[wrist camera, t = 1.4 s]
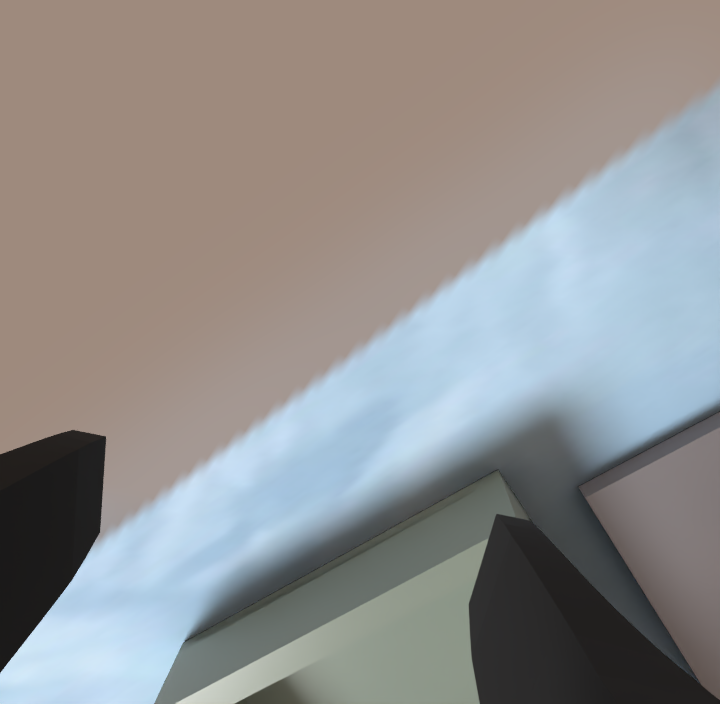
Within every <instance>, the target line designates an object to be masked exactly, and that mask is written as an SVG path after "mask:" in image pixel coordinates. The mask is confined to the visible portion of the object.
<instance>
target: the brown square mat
mask: <svg viewBox="0 0 720 704" xmlns="http://www.w3.org/2000/svg"><path fill="white" fill-rule="evenodd" d="M578 487H579V489H580V491H581V492H582V494H583V495H584V497H585V499H586V500H587V502H588V503H589V505H590V507H591V508H592V510H593V512H594V513H595V515H596V516H597V518H598V520H599V521H600V523H601V524H602V526H603V528H604V529H605V531H606V532H607V534H608V536H609V537H610V539H611V540H612V542H613V544H614V545H615V547H616V548H617V550H618V552H619V553H620V555H621V557H622V558H623V560H624V561H625V563H626V565H627V566H628V568H629V569H630V571H631V573H632V574H633V576H634V577H635V579H636V581H637V582H638V584H639V585H640V587H641V589H642V590H643V592H644V594H645V595H646V597H647V598H648V600H649V602H650V603H651V605H652V606H653V608H654V610H655V611H656V613H657V614H658V616H659V618H660V619H661V621H662V622H663V624H664V626H665V627H666V629H667V630H668V632H669V634H670V635H671V637H672V639H673V640H674V642H675V643H676V645H677V647H678V648H679V650H680V651H681V653H682V655H683V656H684V658H685V659H686V661H687V663H688V664H689V666H690V667H691V669H692V671H693V672H694V674H695V676H696V677H697V679H698V680H699V682H700V684H701V685H702V686H703V687H704V688H705V689H706V690H708V691H709V692H710V693H711V694H713V695H714V696H715V697H717V698H718V699H719V700H720V412H718V413H716V414H714V415H713V416H711V417H709V418H707V419H705V420H703V421H701V422H699V423H697V424H696V425H694V426H692V427H690V428H688V429H686V430H684V431H682V432H680V433H679V434H677V435H675V436H673V437H671V438H669V439H667V440H665V441H663V442H662V443H660V444H658V445H656V446H654V447H652V448H650V449H648V450H646V451H645V452H643V453H641V454H639V455H637V456H635V457H633V458H631V459H629V460H628V461H626V462H624V463H622V464H620V465H618V466H616V467H614V468H612V469H611V470H609V471H607V472H605V473H603V474H601V475H599V476H597V477H595V478H594V479H592V480H590V481H588V482H586V483H584V484H582V485H580V486H578Z"/></svg>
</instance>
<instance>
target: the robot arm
mask: <svg viewBox="0 0 720 704" xmlns="http://www.w3.org/2000/svg"><path fill="white" fill-rule="evenodd" d="M105 445H106V437H105V436H100V435H96V434H90V433H85V432H80V431H75V430H71V431H67V432H64V433H60V434H57V435H54V436H51V437H48V438H45V439H42V440H39V441H36V442H33V443H31V444H28V445H25V446H23V447H20V448H17V449H14V450H12V451H9V452H6V453H3V454H0V672H1V671H2V670H3V669H4V667H5V666H6V665H7V663H8V662H9V661H10V660H11V658H12V657H13V656H14V654H15V653H16V652H17V651H18V649H19V648H20V647H21V646H22V644H23V643H24V642H25V640H26V639H27V638H28V637H29V635H30V634H31V633H32V631H33V630H34V629H35V628H36V626H37V625H38V624H39V623H40V621H41V620H42V619H43V617H44V616H45V615H46V613H47V612H48V611H49V610H50V608H51V607H52V606H53V604H54V603H55V602H56V600H57V599H58V598H59V597H60V595H61V594H62V593H63V591H64V590H65V589H66V587H67V586H68V585H69V583H70V582H71V581H72V579H73V578H74V576H75V574H76V573H77V571H78V569H79V568H80V566H81V564H82V563H83V561H84V559H85V558H86V556H87V554H88V552H89V551H90V549H91V547H92V545H93V543H94V542H95V540H96V538H97V536H98V535H99V533H100V523H101V507H102V491H103V476H104V461H105ZM469 624H470V642H471V656H472V663H473V669H474V675H475V680H476V686H477V691H478V697H479V702H480V704H720V700H719V699H718V698H717V697H715V696H714V695H713V694H711V693H710V692H709V691H708V690H706V689H705V688H704V687H703V686H702V685H700V684H699V683H698V682H697V681H696V680H694V679H693V678H692V677H691V676H689V675H688V674H687V673H686V672H685V671H683V670H682V669H681V668H680V667H678V666H677V665H676V664H675V663H674V662H672V661H671V660H670V659H669V658H668V657H667V656H665V655H664V654H663V653H662V652H661V651H660V650H659V649H657V648H656V647H655V646H654V645H653V644H652V643H651V642H650V641H649V640H648V639H647V638H645V637H644V636H643V635H642V634H641V633H640V632H639V631H638V630H637V629H636V628H635V627H634V626H633V625H632V624H631V623H629V622H628V621H627V620H626V619H625V618H624V617H623V616H622V615H621V614H620V613H619V612H618V611H617V610H616V609H615V608H614V607H613V606H612V605H611V604H610V603H609V602H608V601H607V600H606V599H605V598H604V597H603V596H602V595H601V594H600V593H599V592H598V591H597V590H596V589H595V588H594V587H593V586H592V585H591V584H590V583H589V582H588V581H587V580H586V578H585V577H584V576H583V575H582V574H581V573H580V572H579V571H578V570H577V569H576V568H575V567H574V566H573V565H572V564H571V563H570V561H569V560H568V559H567V558H566V557H565V556H564V555H563V554H562V553H561V552H560V551H559V550H558V549H557V548H556V546H555V545H554V544H553V543H552V542H551V541H550V540H549V539H548V538H547V537H546V536H545V535H544V534H543V533H542V532H541V531H540V530H539V529H538V528H537V527H536V526H535V525H534V524H533V523H532V522H531V521H530V520H526V519H521V518H516V517H510V516H505V515H500V514H496V516H495V520H494V523H493V526H492V530H491V533H490V536H489V539H488V543H487V546H486V549H485V552H484V556H483V559H482V562H481V566H480V569H479V572H478V575H477V579H476V582H475V585H474V588H473V592H472V595H471V598H470V601H469Z"/></svg>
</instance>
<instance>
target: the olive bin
mask: <svg viewBox="0 0 720 704" xmlns="http://www.w3.org/2000/svg"><path fill="white" fill-rule="evenodd" d="M496 514H500V515H505V516H510V517H516V518H521V519H526V520H530V521H531V519H530V518H529V516H528V515H527V513H526V512H525V510H524V508H523V507H522V505H521V504H520V502H519V501H518V499H517V498H516V496H515V495H514V493H513V492H512V490H511V488H510V487H509V485H508V484H507V482H506V481H505V479H504V478H503V476H502V475H501V473H500V471H499V470H496V471H494V472H493V473H491V474H489V475H487V476H485V477H484V478H482V479H480V480H478V481H476V482H474V483H473V484H471V485H469V486H467V487H465V488H464V489H462V490H460V491H458V492H456V493H454V494H453V495H451V496H449V497H447V498H445V499H444V500H442V501H440V502H438V503H436V504H434V505H433V506H431V507H429V508H427V509H425V510H424V511H422V512H420V513H418V514H416V515H414V516H413V517H411V518H409V519H407V520H405V521H404V522H402V523H400V524H398V525H396V526H394V527H393V528H391V529H389V530H387V531H385V532H384V533H382V534H380V535H378V536H376V537H374V538H373V539H371V540H369V541H367V542H365V543H364V544H362V545H360V546H358V547H356V548H354V549H353V550H351V551H349V552H347V553H345V554H344V555H342V556H340V557H338V558H336V559H334V560H333V561H331V562H329V563H327V564H325V565H324V566H322V567H320V568H318V569H316V570H315V571H313V572H311V573H309V574H307V575H305V576H304V577H302V578H300V579H298V580H296V581H295V582H293V583H291V584H289V585H287V586H285V587H284V588H282V589H280V590H278V591H276V592H275V593H273V594H271V595H269V596H267V597H265V598H264V599H262V600H260V601H258V602H256V603H255V604H253V605H251V606H249V607H247V608H245V609H244V610H242V611H240V612H238V613H236V614H235V615H233V616H231V617H229V618H227V619H225V620H224V621H222V622H220V623H218V624H216V625H215V626H213V627H211V628H209V629H207V630H205V631H204V632H202V633H200V634H198V635H196V636H195V637H193V638H191V639H189V640H187V641H185V642H184V643H183V644H182V646H181V648H180V651H179V653H178V655H177V657H176V659H175V661H174V663H173V665H172V667H171V669H170V672H169V674H168V676H167V678H166V680H165V682H164V684H163V686H162V688H161V691H160V693H159V695H158V697H157V699H156V701H155V703H154V704H480V702H479V697H478V691H477V686H476V680H475V675H474V669H473V663H472V656H471V642H470V624H469V601H470V598H471V595H472V592H473V588H474V585H475V582H476V579H477V575H478V572H479V569H480V566H481V562H482V559H483V556H484V552H485V549H486V546H487V543H488V539H489V536H490V533H491V530H492V526H493V523H494V520H495V516H496ZM531 522H532V521H531ZM532 523H533V522H532Z"/></svg>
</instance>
